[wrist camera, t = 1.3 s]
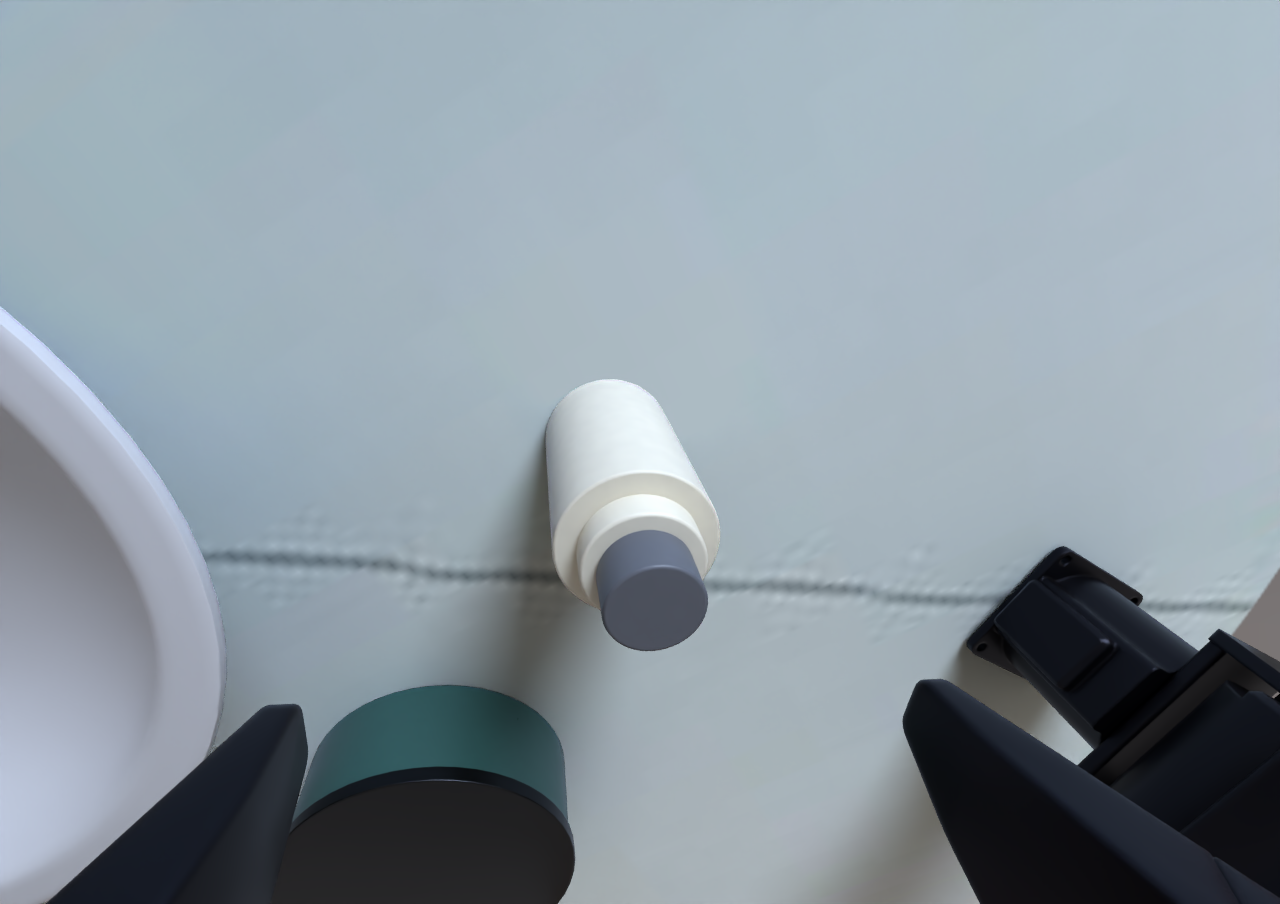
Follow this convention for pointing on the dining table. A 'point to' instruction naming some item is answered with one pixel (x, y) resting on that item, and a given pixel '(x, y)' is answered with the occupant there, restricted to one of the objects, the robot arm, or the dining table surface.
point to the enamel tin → (432, 806)
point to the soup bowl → (90, 628)
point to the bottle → (628, 515)
